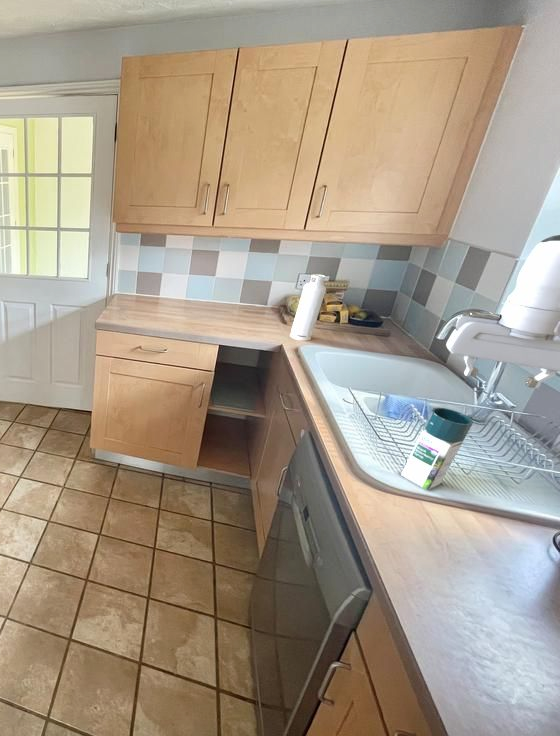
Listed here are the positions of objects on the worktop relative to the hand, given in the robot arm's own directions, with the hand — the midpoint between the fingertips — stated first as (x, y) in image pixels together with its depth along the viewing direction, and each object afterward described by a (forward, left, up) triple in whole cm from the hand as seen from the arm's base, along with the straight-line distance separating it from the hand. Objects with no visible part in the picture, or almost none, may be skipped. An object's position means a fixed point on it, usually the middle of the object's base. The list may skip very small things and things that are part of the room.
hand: (499, 381), depth 86 cm
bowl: (+5, +1, -15) cm, 15 cm away
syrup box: (+5, +1, -29) cm, 30 cm away
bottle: (+32, -91, -29) cm, 100 cm away
